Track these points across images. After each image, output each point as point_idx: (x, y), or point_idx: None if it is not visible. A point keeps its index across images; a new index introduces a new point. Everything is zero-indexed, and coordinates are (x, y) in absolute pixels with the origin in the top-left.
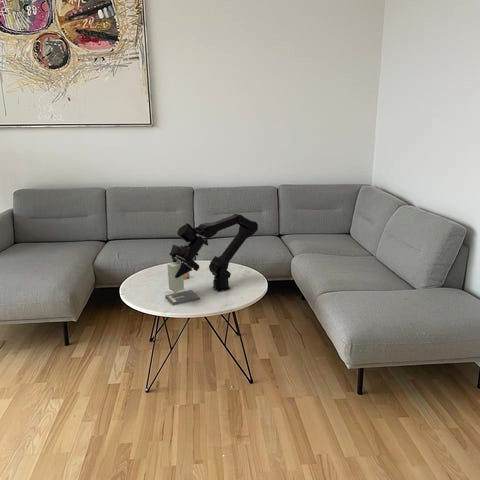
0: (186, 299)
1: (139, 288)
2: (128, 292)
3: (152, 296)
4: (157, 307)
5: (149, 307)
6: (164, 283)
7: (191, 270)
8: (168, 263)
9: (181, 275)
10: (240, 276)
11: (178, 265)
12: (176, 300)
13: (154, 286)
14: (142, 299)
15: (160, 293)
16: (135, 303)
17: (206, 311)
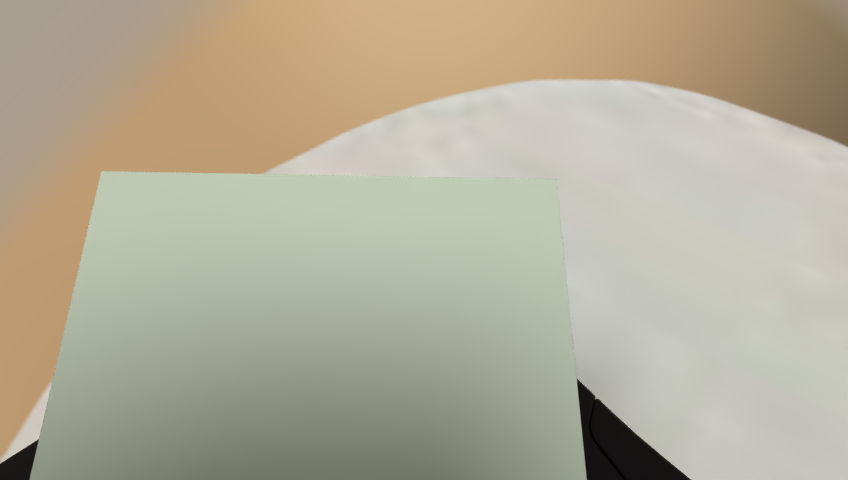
0: None
1: (784, 222)
2: (738, 131)
3: (580, 231)
4: (369, 173)
5: (404, 133)
6: (816, 447)
7: None
8: (553, 221)
9: None
10: None
11: (42, 469)
12: None
13: (779, 337)
14: (564, 153)
15: (606, 308)
16: (524, 92)
17: (19, 448)
